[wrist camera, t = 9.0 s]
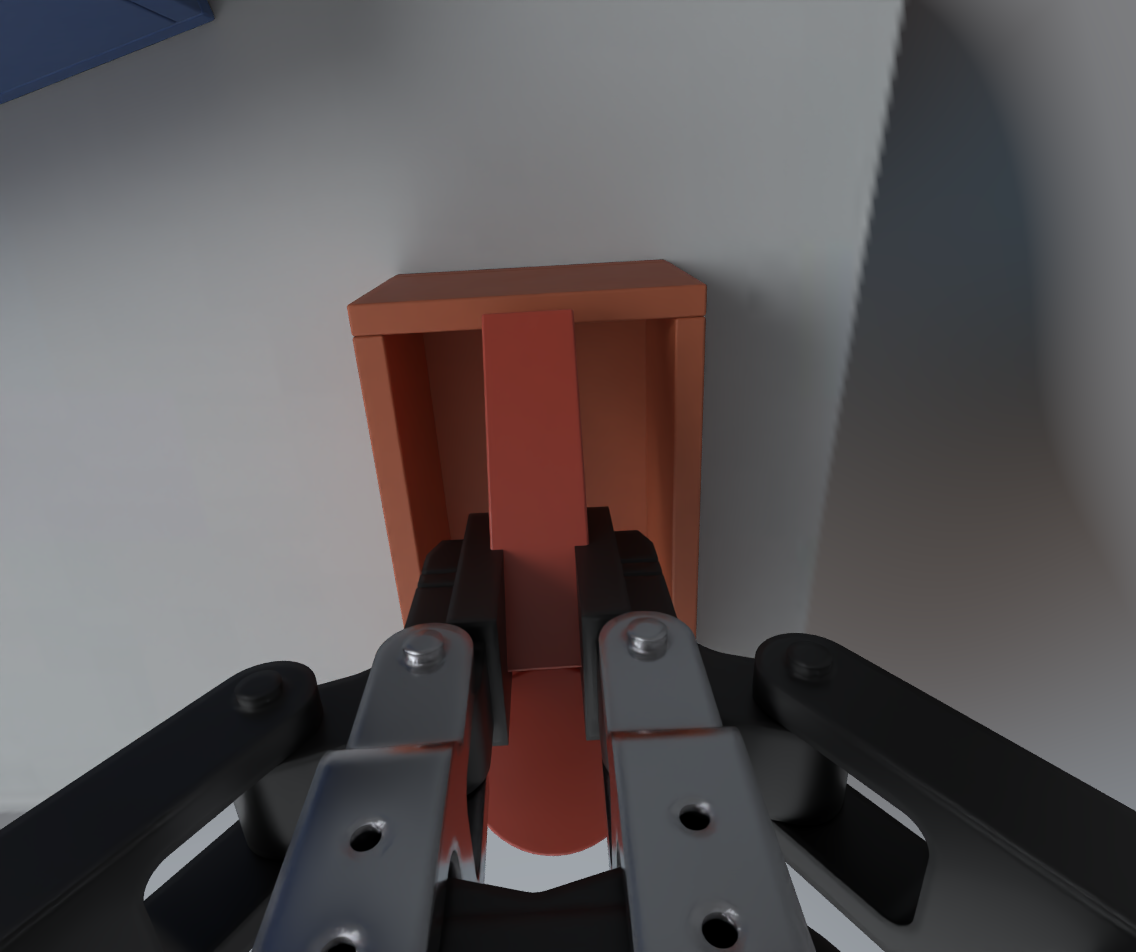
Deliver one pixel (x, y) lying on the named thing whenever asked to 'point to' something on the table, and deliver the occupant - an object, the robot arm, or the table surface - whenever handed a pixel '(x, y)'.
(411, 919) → the robot arm
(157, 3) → the blue bin
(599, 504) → the orange bin
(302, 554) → the table surface
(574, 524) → the red spoon
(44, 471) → the table surface
